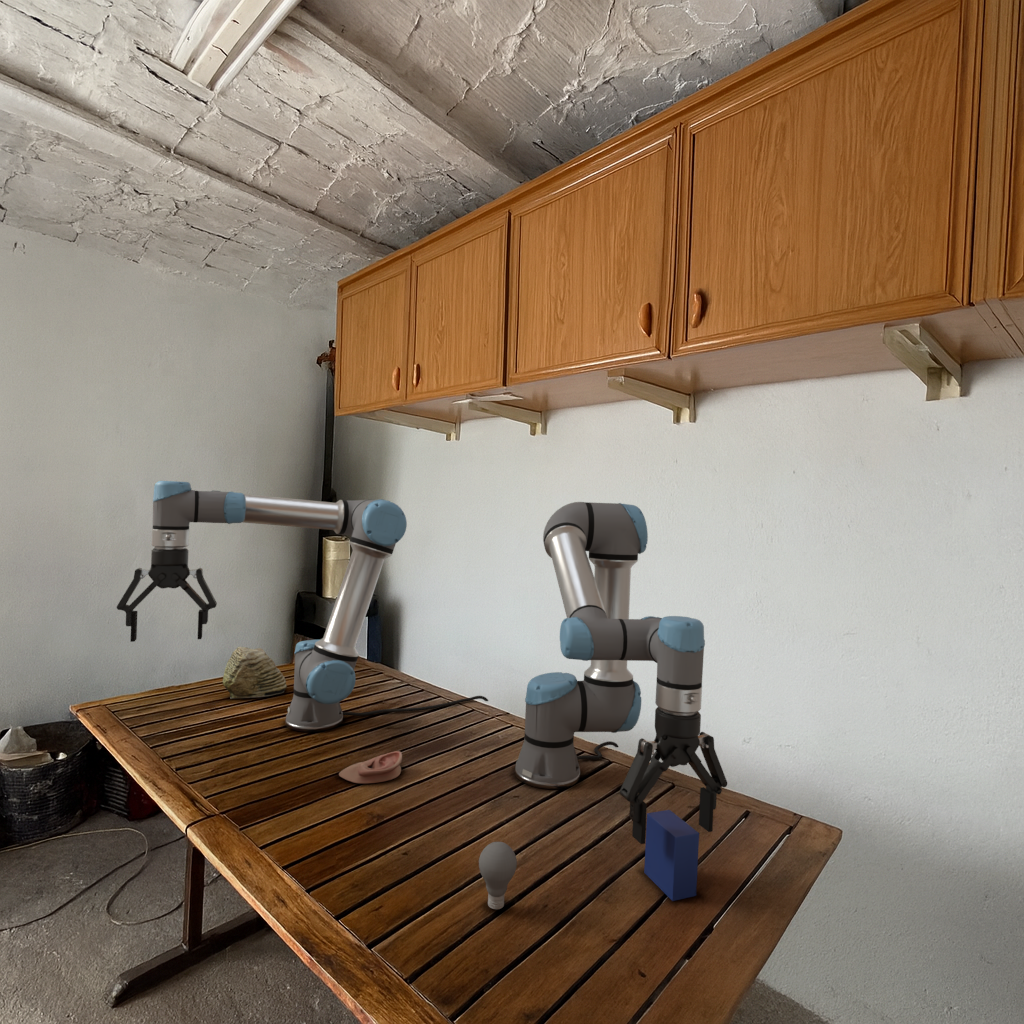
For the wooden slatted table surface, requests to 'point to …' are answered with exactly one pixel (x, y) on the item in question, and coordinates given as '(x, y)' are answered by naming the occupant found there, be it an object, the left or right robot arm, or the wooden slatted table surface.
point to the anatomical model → (374, 769)
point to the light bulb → (497, 871)
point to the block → (671, 854)
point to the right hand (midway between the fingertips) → (672, 834)
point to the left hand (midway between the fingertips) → (167, 639)
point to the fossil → (252, 674)
